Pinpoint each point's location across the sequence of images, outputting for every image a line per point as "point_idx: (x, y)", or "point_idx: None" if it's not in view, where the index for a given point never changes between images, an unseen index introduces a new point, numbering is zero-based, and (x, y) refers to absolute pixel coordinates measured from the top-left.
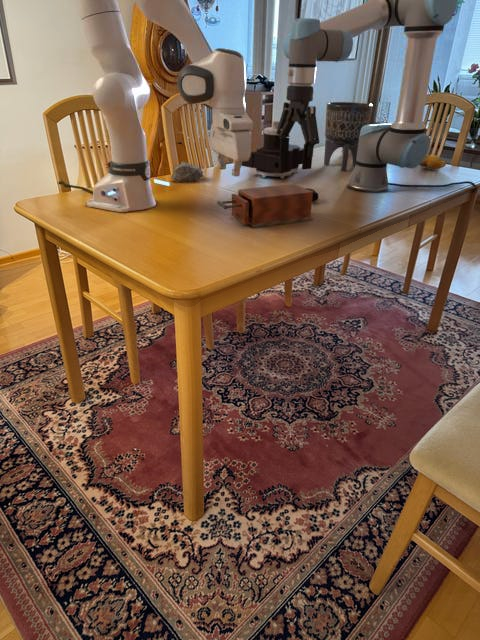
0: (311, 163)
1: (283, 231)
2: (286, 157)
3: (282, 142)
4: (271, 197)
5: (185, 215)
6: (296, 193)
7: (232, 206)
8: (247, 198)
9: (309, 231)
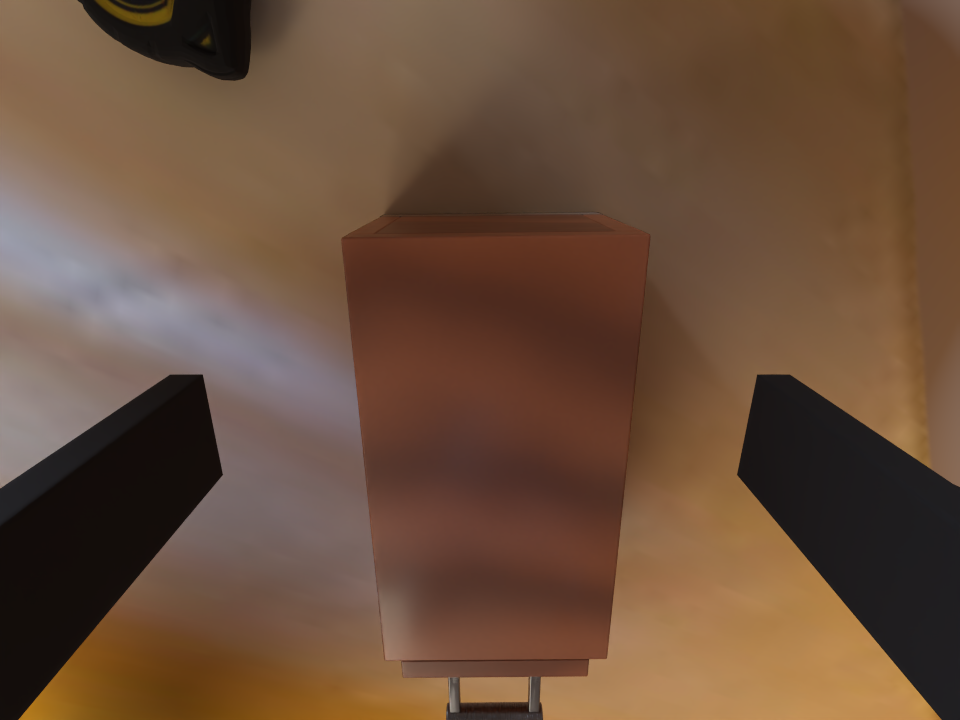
0: (832, 406)
1: (688, 443)
2: (187, 410)
3: (58, 649)
4: (616, 560)
5: (313, 700)
6: (629, 386)
7: (539, 690)
8: None
9: (757, 328)
